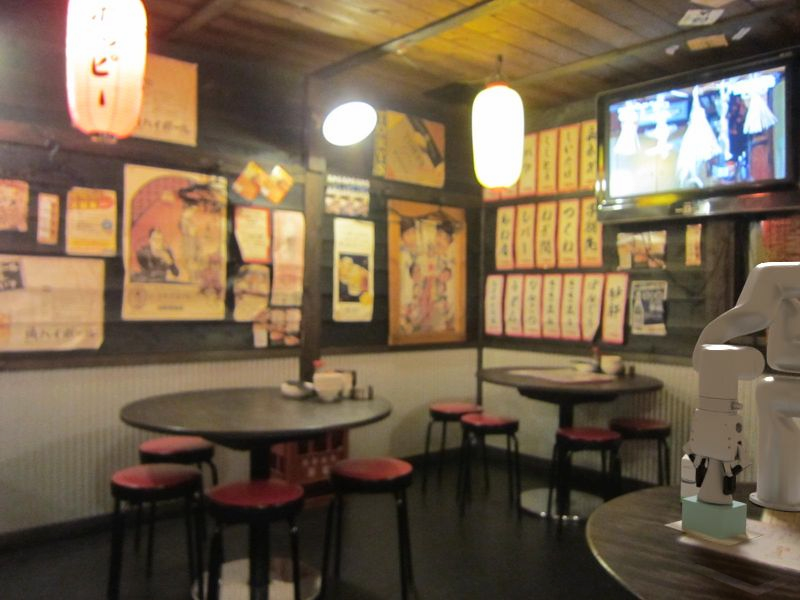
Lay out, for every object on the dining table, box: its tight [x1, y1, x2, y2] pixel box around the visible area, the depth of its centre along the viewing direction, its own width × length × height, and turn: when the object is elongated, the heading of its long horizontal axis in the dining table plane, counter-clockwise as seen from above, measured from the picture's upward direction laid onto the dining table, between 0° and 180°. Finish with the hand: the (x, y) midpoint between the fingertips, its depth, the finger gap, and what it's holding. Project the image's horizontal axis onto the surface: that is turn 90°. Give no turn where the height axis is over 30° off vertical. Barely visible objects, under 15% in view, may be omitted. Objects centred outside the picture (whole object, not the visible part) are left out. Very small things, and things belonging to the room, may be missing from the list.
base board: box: [664, 519, 765, 548], centre depth 140 cm, size 14×14×1 cm
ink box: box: [680, 453, 709, 503], centre depth 161 cm, size 9×5×12 cm, turn 148°
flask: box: [697, 458, 734, 504], centre depth 140 cm, size 7×7×10 cm
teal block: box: [681, 495, 748, 540], centre depth 140 cm, size 9×9×6 cm
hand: (715, 489), depth 140 cm, fingers open, 5 cm apart
